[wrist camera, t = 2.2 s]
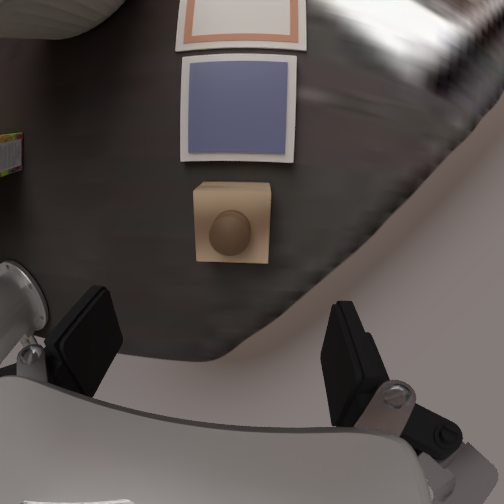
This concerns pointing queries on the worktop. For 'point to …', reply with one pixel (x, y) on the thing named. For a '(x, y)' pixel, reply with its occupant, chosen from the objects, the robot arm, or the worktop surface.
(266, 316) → the worktop surface
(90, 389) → the robot arm
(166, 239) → the worktop surface
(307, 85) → the worktop surface
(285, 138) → the ink pad
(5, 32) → the canister
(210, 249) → the stamp
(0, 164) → the snack box
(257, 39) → the marked card
